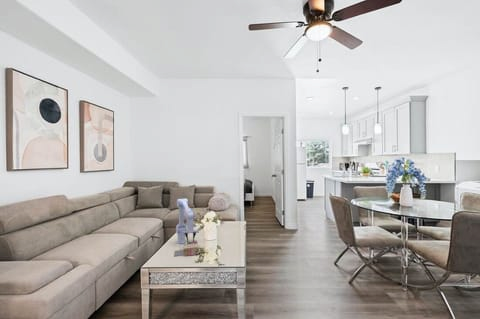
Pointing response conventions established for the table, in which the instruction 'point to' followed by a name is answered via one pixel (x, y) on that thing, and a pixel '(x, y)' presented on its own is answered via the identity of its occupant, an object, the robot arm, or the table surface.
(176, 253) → the mat
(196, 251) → the stack of blocks
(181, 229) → the robot arm
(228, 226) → the table surface
